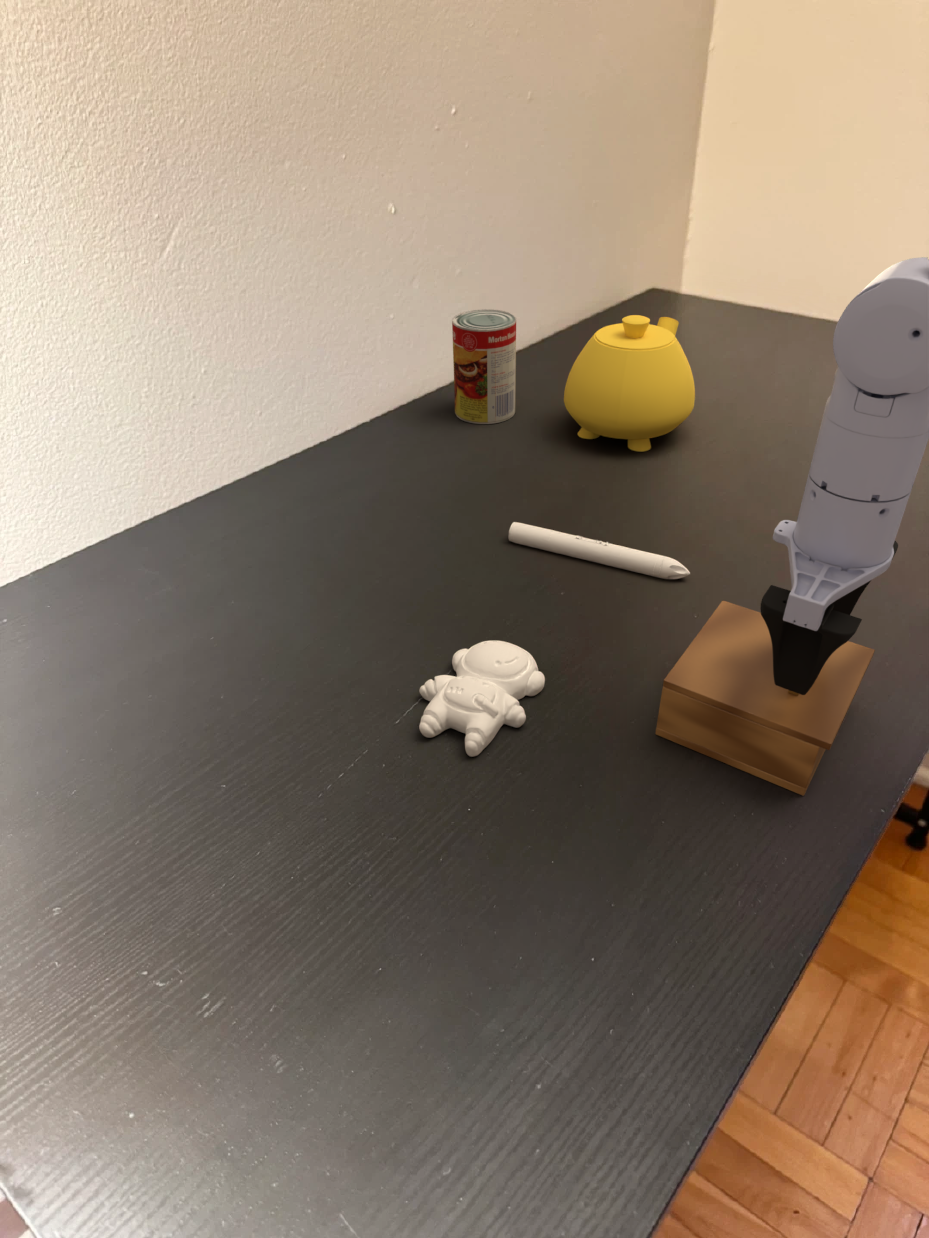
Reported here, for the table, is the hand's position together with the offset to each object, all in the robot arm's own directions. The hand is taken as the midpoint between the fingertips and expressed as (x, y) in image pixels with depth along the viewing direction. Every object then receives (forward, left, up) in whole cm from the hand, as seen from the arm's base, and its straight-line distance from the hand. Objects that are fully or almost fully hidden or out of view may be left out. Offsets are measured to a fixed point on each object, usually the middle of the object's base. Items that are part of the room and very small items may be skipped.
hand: (808, 656), depth 58 cm
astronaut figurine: (+14, +18, -7) cm, 24 cm away
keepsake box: (+2, +1, -7) cm, 8 cm away
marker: (+26, -2, -8) cm, 27 cm away
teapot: (+49, -24, -7) cm, 55 cm away
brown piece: (+2, +1, -2) cm, 3 cm away
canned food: (+62, -10, -7) cm, 63 cm away
